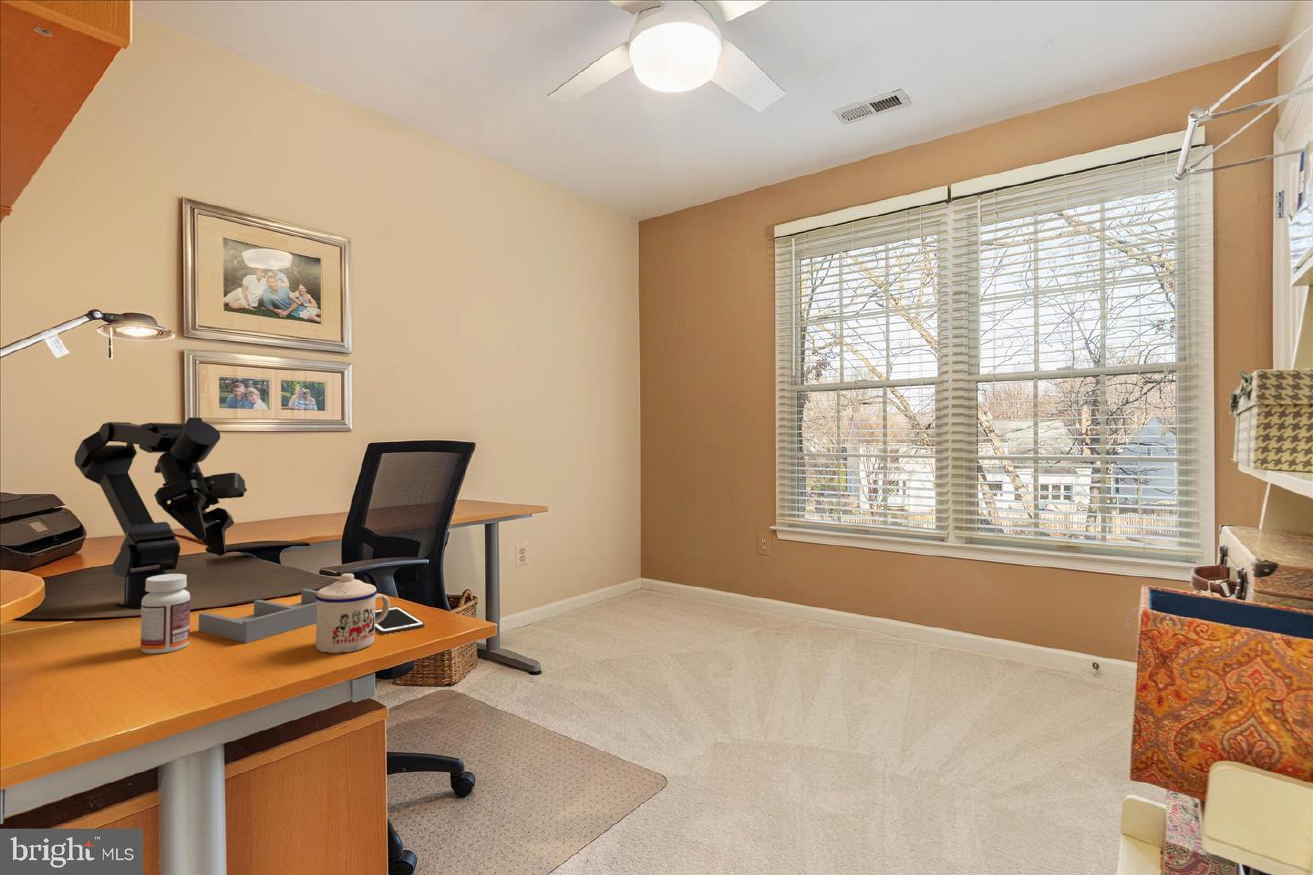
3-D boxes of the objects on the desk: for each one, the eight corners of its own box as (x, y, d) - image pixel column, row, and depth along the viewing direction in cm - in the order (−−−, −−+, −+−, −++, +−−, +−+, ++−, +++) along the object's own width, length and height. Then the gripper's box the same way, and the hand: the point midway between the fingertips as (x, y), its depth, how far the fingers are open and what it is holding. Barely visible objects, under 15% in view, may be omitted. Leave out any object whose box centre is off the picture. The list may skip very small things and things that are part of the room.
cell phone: (397, 610, 124) (397, 605, 124) (426, 628, 113) (426, 623, 113) (356, 617, 119) (356, 612, 119) (382, 637, 108) (382, 631, 108)
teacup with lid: (331, 658, 96) (333, 583, 96) (303, 646, 101) (305, 574, 101) (402, 639, 106) (404, 571, 106) (373, 628, 111) (375, 563, 111)
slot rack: (198, 630, 107) (198, 610, 107) (305, 603, 126) (306, 586, 126) (246, 643, 102) (246, 621, 102) (351, 612, 120) (351, 594, 120)
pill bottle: (188, 639, 103) (190, 571, 103) (190, 649, 98) (192, 578, 98) (140, 646, 99) (141, 575, 99) (139, 657, 95) (141, 583, 95)
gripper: (212, 437, 112) (243, 507, 108) (247, 479, 128) (276, 542, 124) (140, 463, 108) (170, 538, 103) (186, 504, 124) (213, 570, 119)
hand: (212, 547), depth 112 cm, fingers open, 9 cm apart
